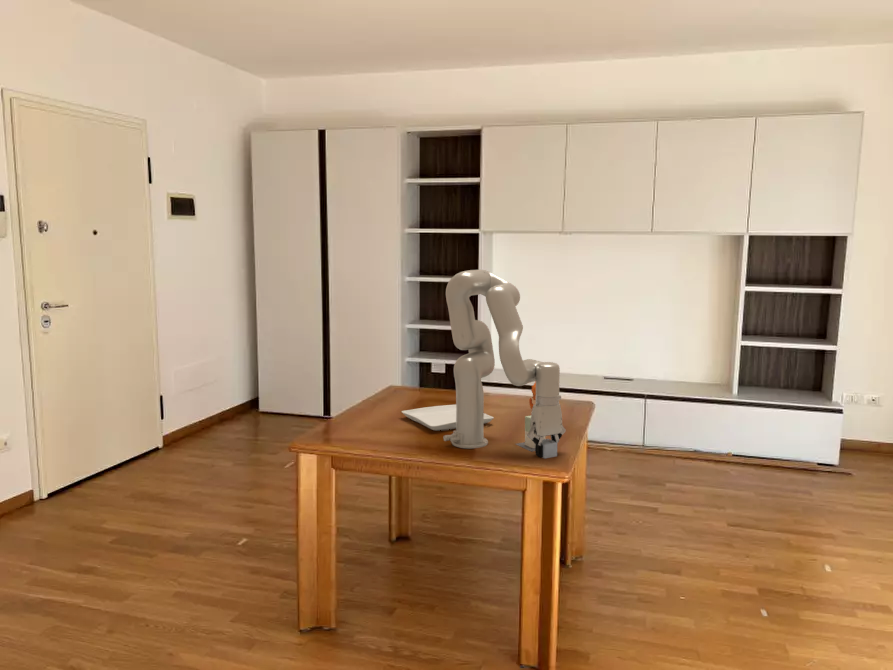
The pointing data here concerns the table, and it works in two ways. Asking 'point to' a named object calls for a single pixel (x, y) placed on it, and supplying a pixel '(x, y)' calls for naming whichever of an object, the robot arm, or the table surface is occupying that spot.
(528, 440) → the beige cube
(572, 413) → the table surface
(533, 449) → the mat
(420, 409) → the square plate
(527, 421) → the pale green cube
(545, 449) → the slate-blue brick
